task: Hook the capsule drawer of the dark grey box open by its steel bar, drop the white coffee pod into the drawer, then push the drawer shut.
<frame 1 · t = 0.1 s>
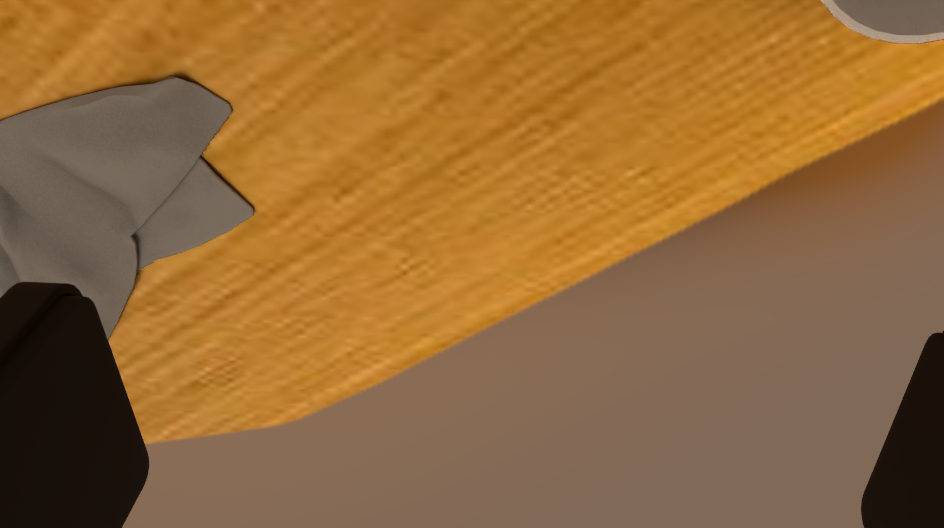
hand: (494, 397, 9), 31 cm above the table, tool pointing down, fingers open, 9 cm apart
cloth: (79, 217, 47), on the table
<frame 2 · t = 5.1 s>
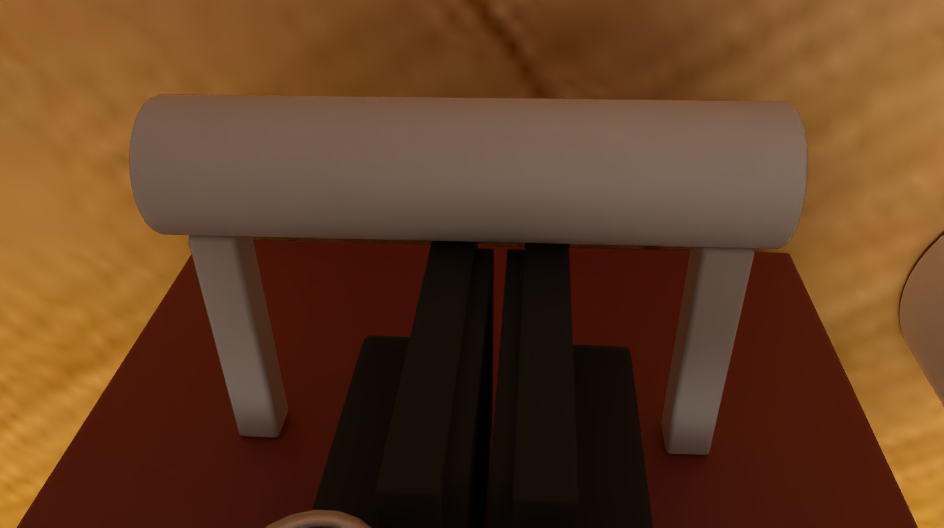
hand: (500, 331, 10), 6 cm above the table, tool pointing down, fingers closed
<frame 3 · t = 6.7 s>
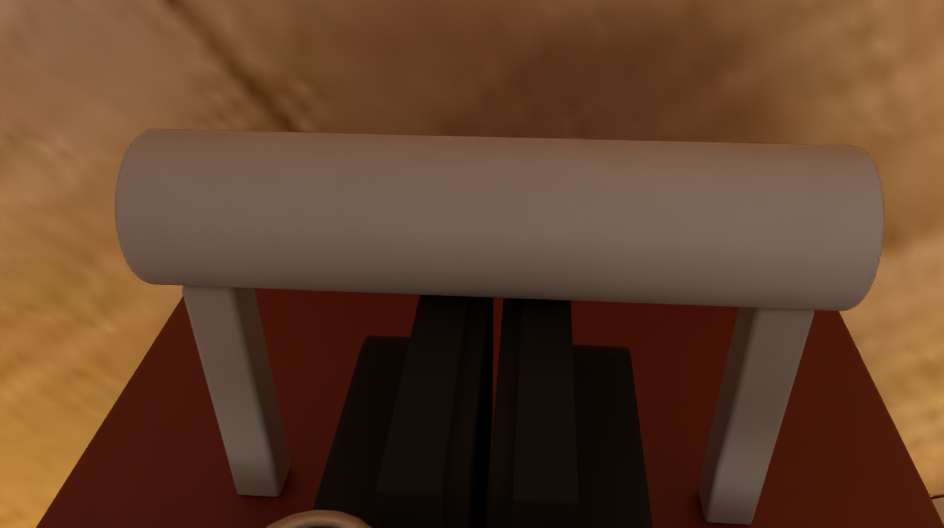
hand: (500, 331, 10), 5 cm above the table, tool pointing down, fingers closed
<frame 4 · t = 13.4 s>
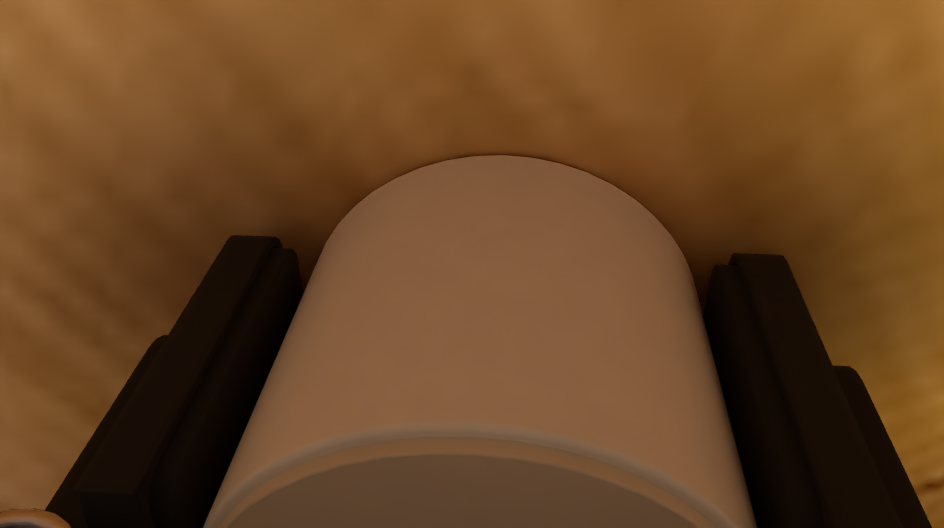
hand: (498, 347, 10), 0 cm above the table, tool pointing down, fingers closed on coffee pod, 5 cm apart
coffee pod: (501, 325, 10), on the table, touching gripper
when the fingers open (7 cm above the table, at t = 18.8 s): coffee pod drops 5 cm, resting on capsule drawer.
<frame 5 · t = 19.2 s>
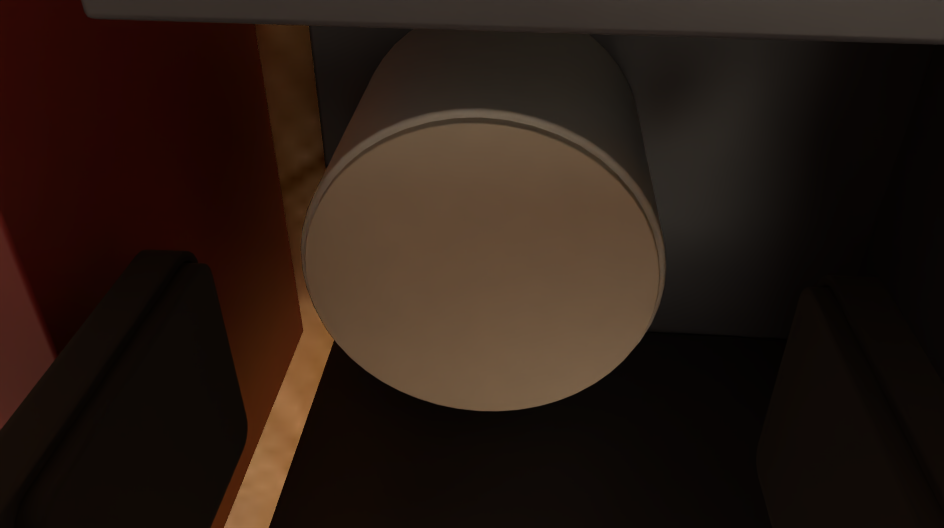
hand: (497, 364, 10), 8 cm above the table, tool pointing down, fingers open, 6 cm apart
coffee pod: (497, 141, 14), point 2 cm above the table, touching capsule drawer
capsule drawer: (388, 220, 12), point 5 cm above the table, slide at 10.1 cm, touching coffee pod, gripper
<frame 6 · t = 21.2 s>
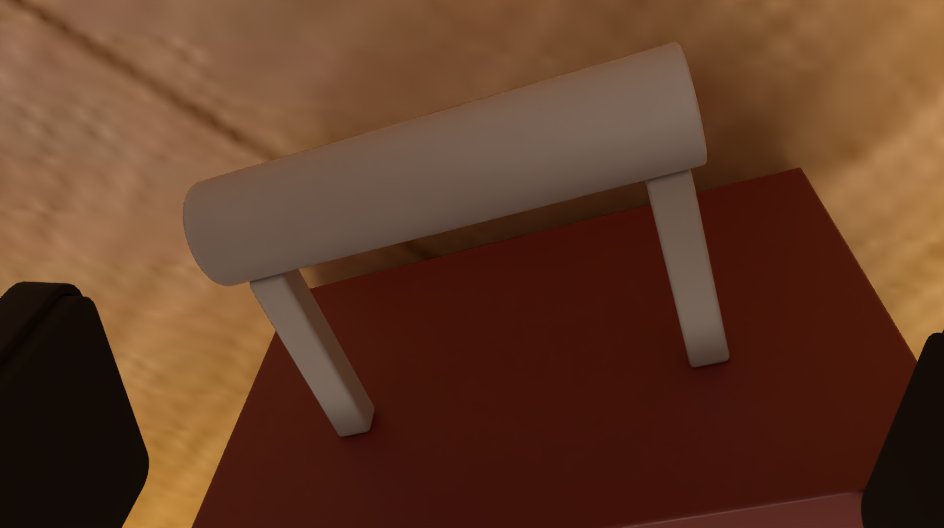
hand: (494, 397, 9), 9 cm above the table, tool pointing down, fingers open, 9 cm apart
capsule drawer: (583, 506, 16), point 5 cm above the table, slide at 10.1 cm, touching coffee pod, gripper
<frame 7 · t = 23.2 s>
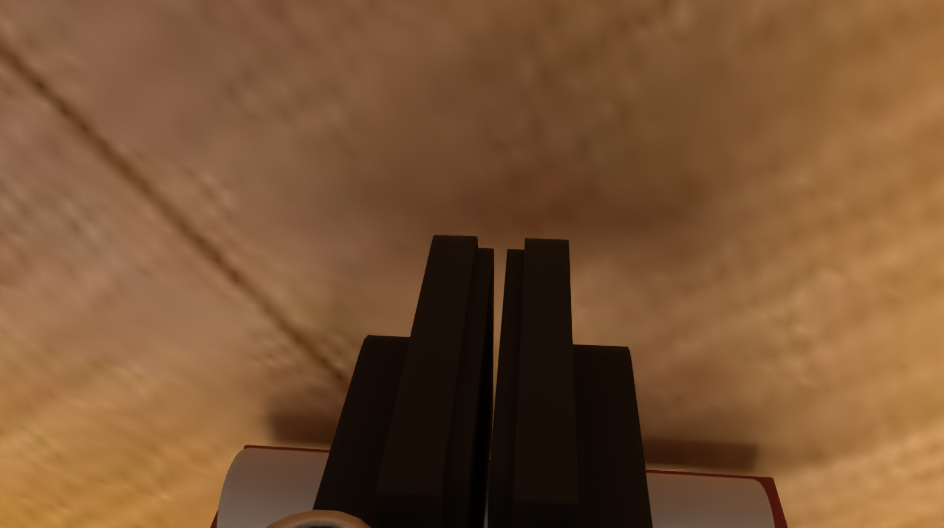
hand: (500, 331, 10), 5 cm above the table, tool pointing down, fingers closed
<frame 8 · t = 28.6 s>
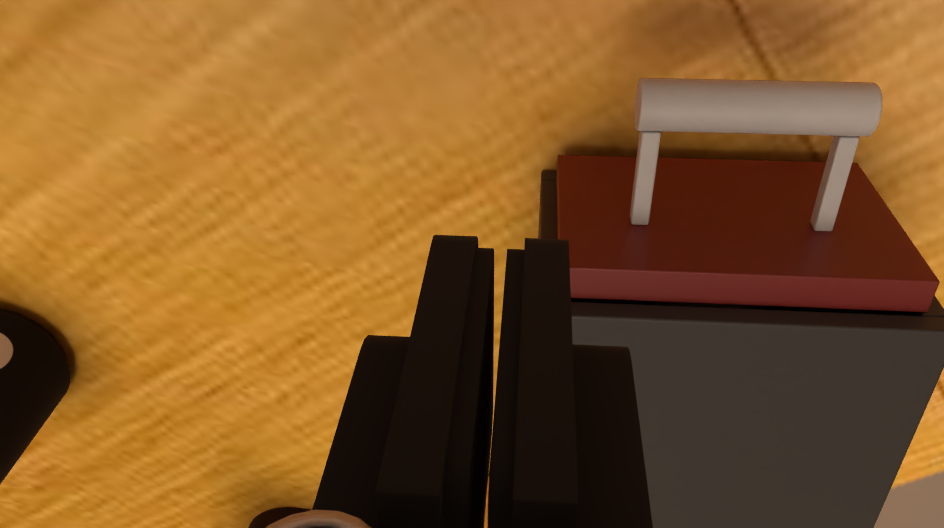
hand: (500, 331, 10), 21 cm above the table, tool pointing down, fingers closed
dark grey box: (673, 316, 36), on the table
coffee mug: (296, 523, 47), on the table
coffee pod: (688, 294, 33), point 2 cm above the table, touching capsule drawer
capsule drawer: (704, 306, 30), point 5 cm above the table, slide at 0.0 cm, touching dark grey box, coffee pod
beverage can: (16, 347, 41), on the table
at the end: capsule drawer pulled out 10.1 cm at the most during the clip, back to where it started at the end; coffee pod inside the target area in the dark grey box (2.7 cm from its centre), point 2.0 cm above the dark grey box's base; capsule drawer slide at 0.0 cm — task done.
